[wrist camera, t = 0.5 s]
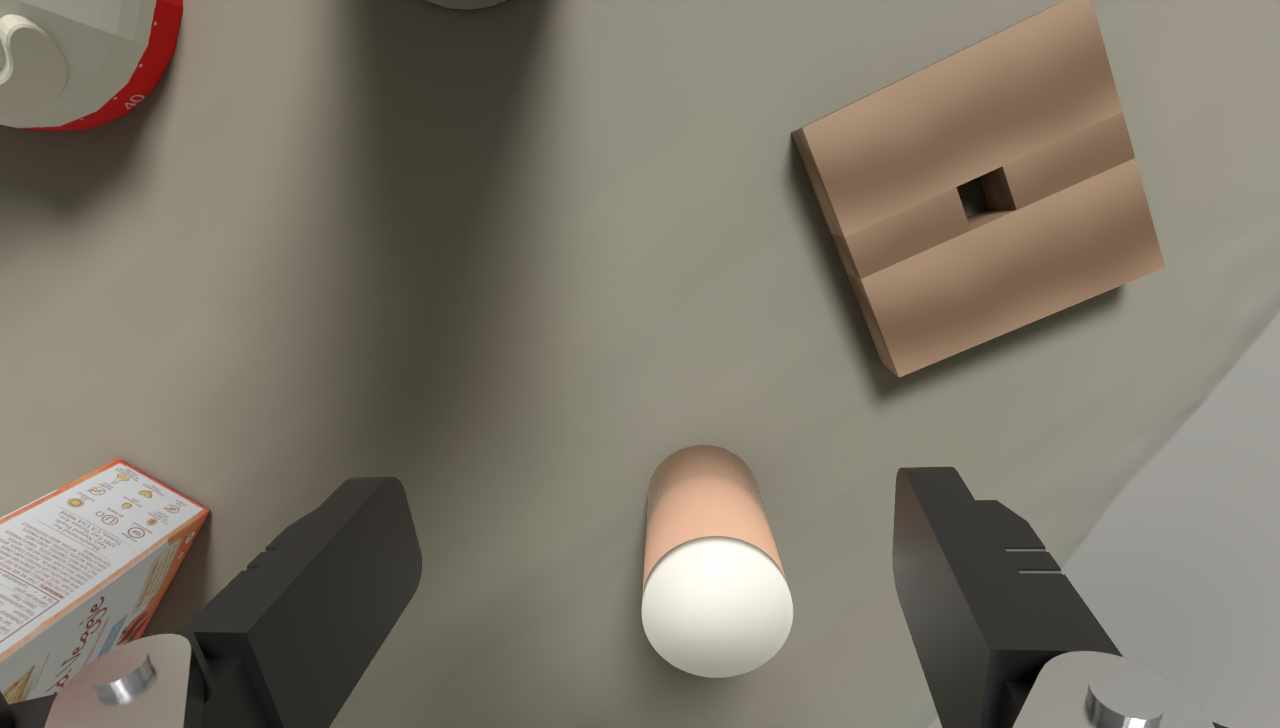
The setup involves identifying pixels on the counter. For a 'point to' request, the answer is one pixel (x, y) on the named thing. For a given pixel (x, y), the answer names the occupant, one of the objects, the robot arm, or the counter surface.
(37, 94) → the kitchen timer
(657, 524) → the terracotta canister
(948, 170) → the walnut board
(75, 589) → the cracker box
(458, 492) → the counter surface
